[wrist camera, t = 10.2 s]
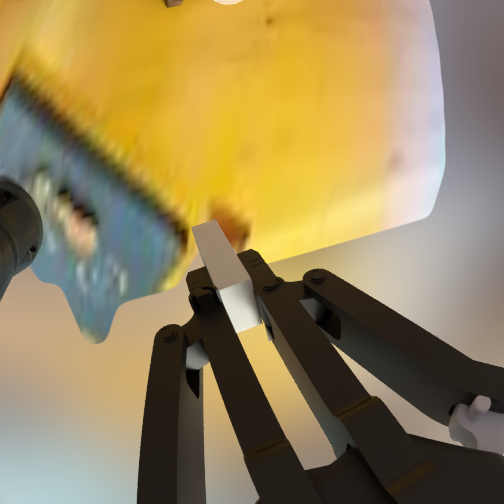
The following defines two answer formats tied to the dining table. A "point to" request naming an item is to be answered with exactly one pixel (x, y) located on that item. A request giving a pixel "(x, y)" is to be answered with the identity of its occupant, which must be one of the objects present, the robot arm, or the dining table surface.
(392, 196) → the dining table surface
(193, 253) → the dining table surface
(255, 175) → the dining table surface
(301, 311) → the robot arm
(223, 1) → the cup
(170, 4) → the walnut pocket
